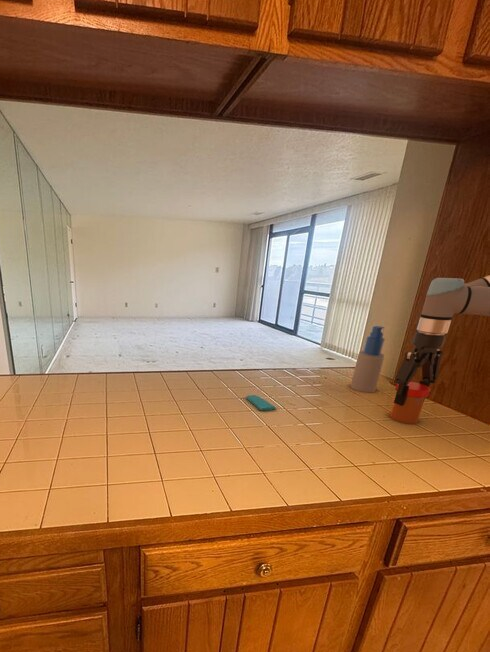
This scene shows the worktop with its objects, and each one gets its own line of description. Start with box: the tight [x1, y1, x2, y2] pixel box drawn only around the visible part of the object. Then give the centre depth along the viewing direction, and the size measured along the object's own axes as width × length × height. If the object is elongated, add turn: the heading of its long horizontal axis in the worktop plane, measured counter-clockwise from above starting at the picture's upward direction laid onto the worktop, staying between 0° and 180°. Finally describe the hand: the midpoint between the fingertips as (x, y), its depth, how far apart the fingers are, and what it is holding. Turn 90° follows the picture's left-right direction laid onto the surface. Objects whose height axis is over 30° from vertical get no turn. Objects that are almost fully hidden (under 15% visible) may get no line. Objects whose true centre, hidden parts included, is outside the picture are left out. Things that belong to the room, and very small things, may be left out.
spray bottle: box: [350, 325, 385, 393], centre depth 136 cm, size 9×9×25 cm
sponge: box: [246, 394, 276, 411], centre depth 123 cm, size 2×12×6 cm
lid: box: [395, 381, 432, 398], centre depth 110 cm, size 9×9×2 cm
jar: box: [389, 395, 426, 424], centre depth 112 cm, size 8×8×11 cm
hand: (408, 402), depth 112 cm, fingers closed on lid, 9 cm apart
